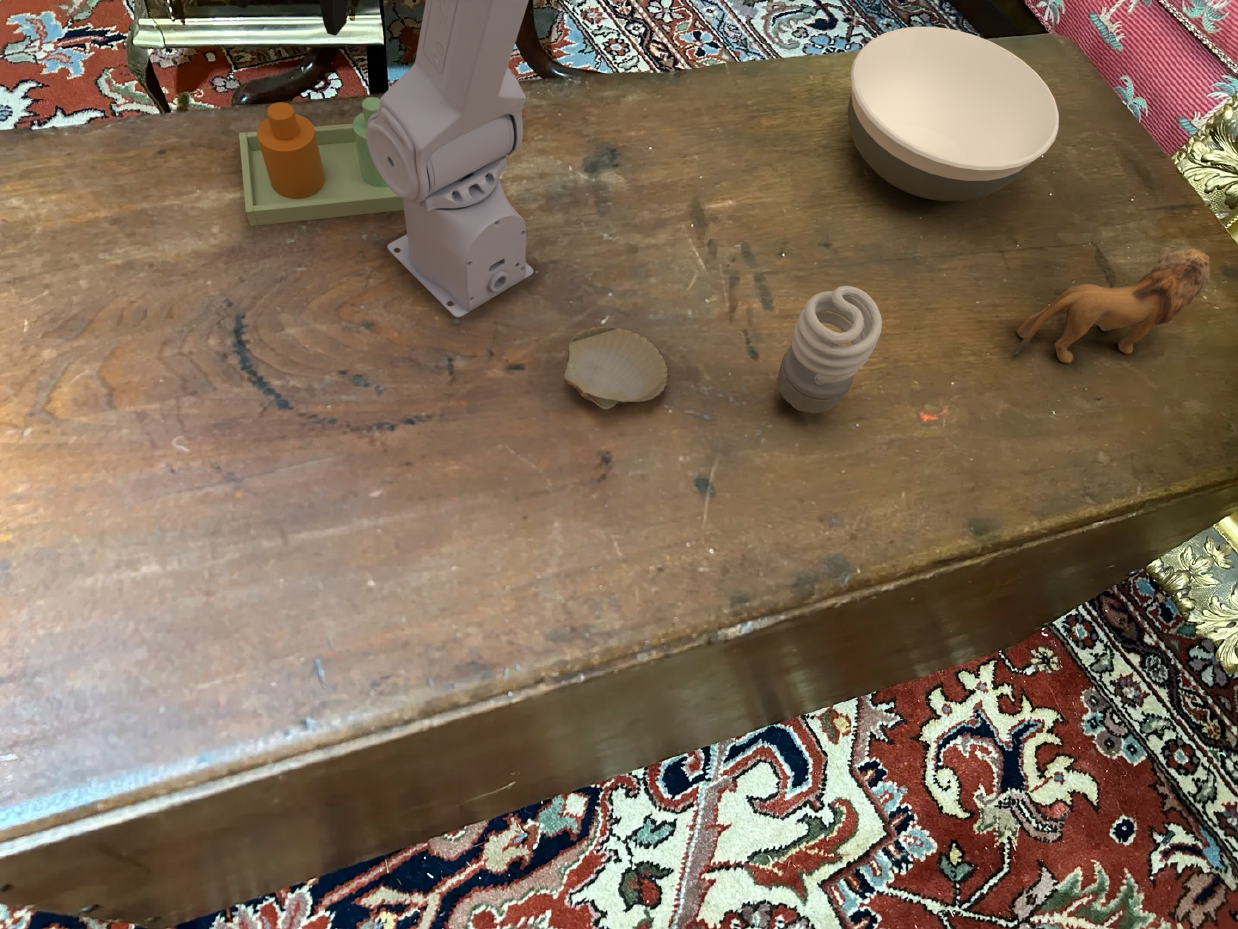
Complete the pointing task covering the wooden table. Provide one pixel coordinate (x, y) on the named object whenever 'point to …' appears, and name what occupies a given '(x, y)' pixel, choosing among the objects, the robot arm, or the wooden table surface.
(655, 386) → the seashell
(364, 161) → the green bottle
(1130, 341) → the lion figurine
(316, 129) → the tray
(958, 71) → the bowl
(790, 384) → the light bulb
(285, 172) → the amber bottle
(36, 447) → the wooden table surface
